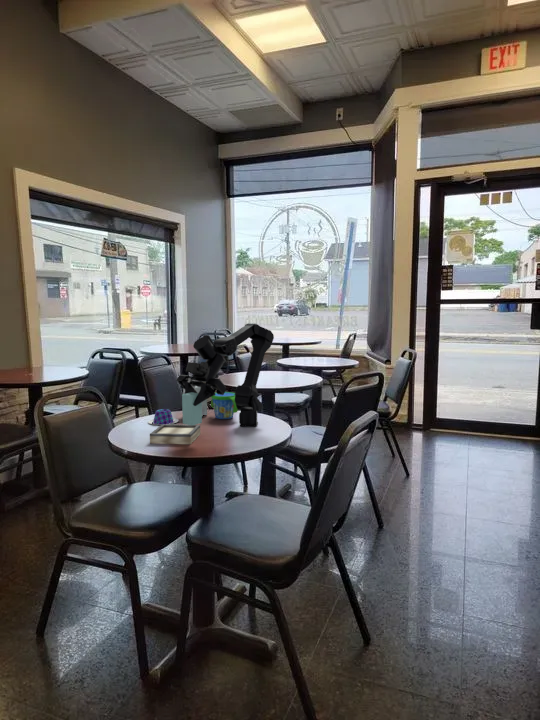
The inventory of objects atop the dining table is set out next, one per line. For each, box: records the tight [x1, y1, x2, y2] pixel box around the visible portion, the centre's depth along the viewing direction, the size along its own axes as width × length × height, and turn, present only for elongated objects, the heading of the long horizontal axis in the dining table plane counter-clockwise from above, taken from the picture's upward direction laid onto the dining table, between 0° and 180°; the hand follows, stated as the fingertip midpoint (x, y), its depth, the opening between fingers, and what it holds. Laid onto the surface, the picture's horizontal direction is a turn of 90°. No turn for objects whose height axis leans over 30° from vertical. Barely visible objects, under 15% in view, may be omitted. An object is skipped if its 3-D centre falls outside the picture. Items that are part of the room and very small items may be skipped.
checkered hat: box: [147, 408, 180, 426], centre depth 190 cm, size 12×12×5 cm
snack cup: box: [210, 391, 239, 420], centre depth 197 cm, size 16×11×10 cm
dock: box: [149, 423, 201, 445], centre depth 165 cm, size 14×14×3 cm
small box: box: [182, 386, 208, 417], centre depth 201 cm, size 8×6×13 cm
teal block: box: [181, 392, 203, 425], centre depth 158 cm, size 4×4×10 cm
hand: (188, 404), depth 157 cm, fingers closed on teal block, 4 cm apart
